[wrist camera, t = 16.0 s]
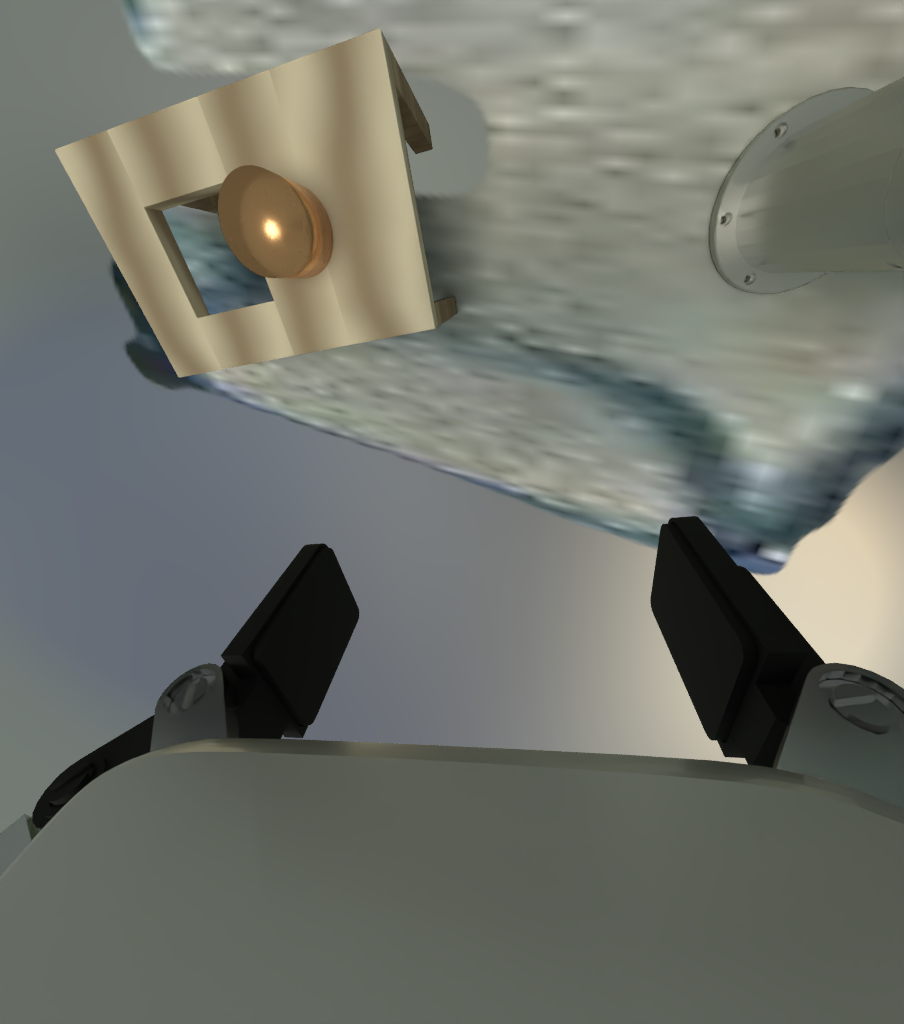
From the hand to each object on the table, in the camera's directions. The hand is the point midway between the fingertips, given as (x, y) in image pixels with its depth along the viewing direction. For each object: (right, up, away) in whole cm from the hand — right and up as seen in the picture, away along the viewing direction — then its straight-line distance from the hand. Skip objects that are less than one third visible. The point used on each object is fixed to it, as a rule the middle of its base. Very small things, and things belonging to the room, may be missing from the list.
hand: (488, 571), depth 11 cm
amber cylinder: (-10, +25, +21) cm, 35 cm away
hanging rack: (-13, +27, +25) cm, 39 cm away
